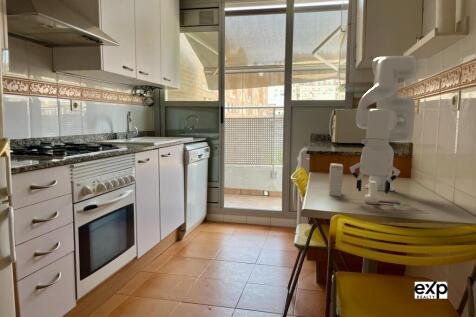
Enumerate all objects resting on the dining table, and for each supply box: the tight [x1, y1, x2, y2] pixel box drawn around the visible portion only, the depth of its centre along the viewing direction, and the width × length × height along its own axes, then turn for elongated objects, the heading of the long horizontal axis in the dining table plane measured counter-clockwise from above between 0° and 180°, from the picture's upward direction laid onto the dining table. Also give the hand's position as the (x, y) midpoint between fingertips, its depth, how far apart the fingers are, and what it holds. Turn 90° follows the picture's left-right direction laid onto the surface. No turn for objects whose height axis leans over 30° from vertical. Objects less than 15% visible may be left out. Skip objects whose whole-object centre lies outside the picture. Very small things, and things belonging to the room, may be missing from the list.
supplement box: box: [327, 162, 344, 197], centre depth 145 cm, size 8×5×13 cm, turn 168°
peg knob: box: [364, 181, 401, 204], centre depth 130 cm, size 12×7×8 cm, turn 77°
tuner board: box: [343, 196, 430, 215], centre depth 129 cm, size 24×20×1 cm
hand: (372, 191), depth 130 cm, fingers open, 8 cm apart
